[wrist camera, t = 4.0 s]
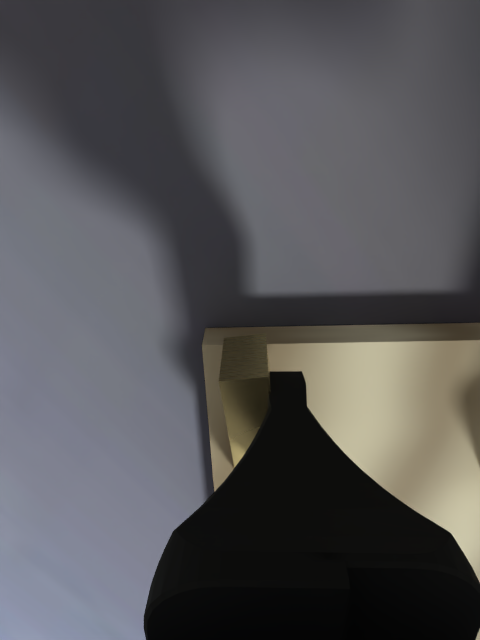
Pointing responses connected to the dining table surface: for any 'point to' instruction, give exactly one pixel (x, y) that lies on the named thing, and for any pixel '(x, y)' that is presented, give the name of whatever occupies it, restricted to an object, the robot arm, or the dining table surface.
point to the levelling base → (383, 409)
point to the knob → (244, 389)
